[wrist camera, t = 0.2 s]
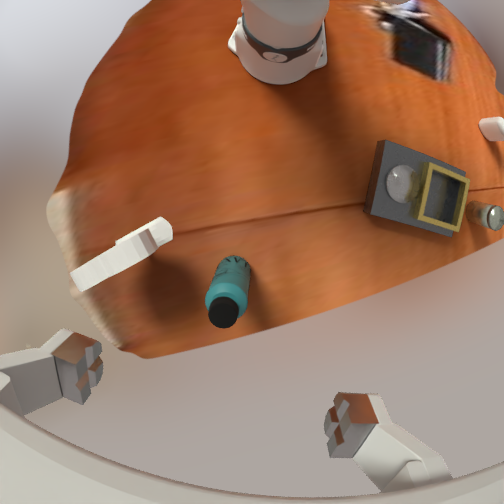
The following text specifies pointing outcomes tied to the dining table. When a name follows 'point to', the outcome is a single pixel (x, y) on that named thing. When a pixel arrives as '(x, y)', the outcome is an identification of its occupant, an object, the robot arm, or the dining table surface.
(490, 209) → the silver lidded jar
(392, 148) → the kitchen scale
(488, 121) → the eye dropper bottle
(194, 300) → the dining table surface
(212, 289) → the beverage bottle
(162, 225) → the white angular piece
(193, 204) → the dining table surface
